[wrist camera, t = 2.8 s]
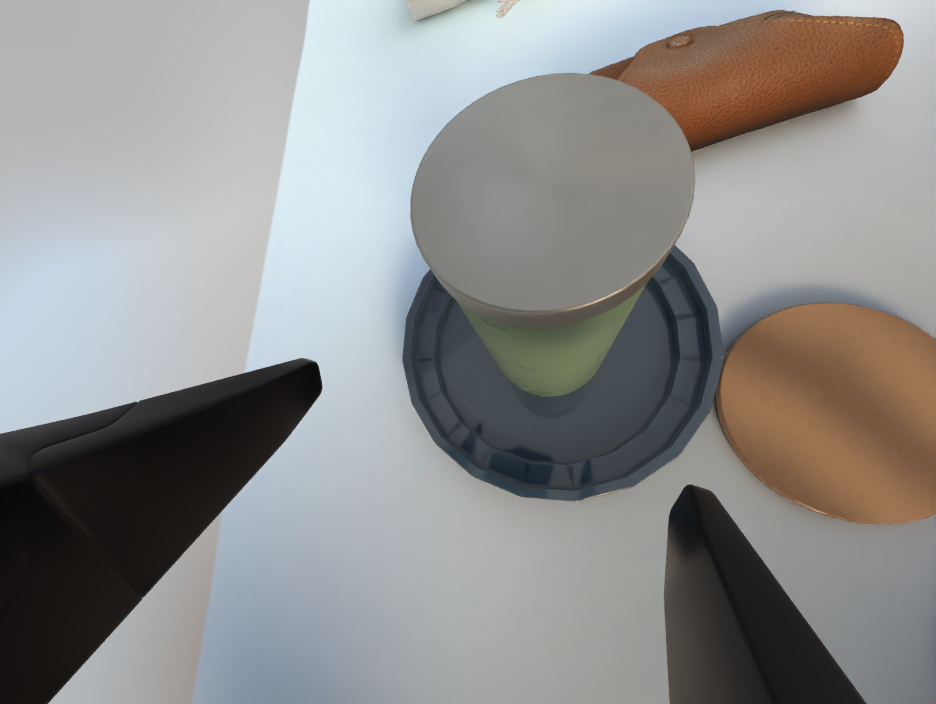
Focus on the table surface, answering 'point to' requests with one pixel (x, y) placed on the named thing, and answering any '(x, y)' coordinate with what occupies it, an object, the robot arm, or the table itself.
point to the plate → (577, 413)
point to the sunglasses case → (761, 70)
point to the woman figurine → (446, 7)
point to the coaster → (836, 411)
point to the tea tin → (552, 218)
